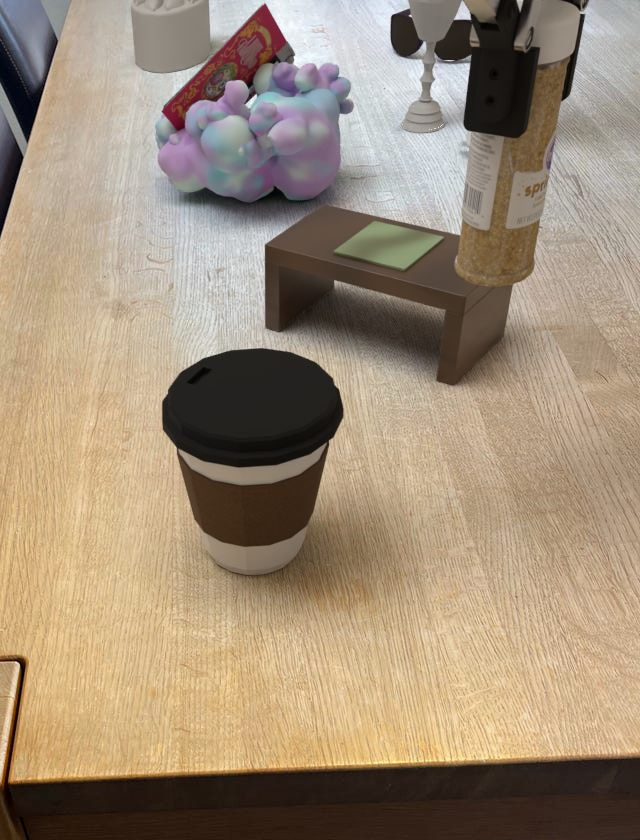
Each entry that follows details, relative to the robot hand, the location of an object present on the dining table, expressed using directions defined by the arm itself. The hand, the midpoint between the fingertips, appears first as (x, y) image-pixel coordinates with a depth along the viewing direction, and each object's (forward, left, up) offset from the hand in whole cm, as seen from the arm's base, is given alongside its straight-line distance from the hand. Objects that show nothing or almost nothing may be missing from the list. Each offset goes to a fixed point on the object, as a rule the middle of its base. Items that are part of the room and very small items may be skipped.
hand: (517, 110), depth 52 cm
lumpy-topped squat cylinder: (+79, -69, -25) cm, 108 cm away
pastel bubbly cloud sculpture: (+43, -37, -25) cm, 62 cm away
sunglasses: (+46, -89, -25) cm, 103 cm away
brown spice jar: (0, 0, -9) cm, 9 cm away
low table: (+15, -17, -25) cm, 34 cm away
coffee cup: (+8, +12, -25) cm, 29 cm away
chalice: (+35, -61, -25) cm, 75 cm away
